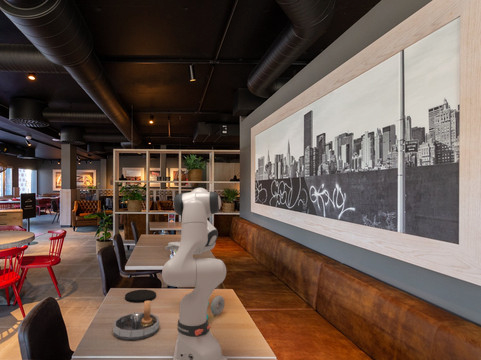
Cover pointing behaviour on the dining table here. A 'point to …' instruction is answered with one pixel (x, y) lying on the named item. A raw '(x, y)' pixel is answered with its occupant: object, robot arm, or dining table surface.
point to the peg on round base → (147, 313)
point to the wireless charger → (140, 296)
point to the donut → (220, 302)
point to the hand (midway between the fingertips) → (171, 249)
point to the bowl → (134, 327)
